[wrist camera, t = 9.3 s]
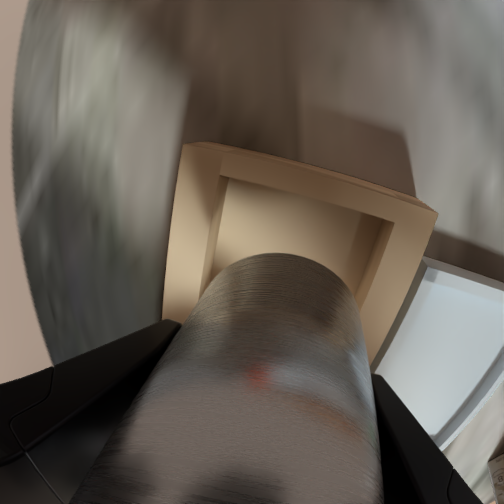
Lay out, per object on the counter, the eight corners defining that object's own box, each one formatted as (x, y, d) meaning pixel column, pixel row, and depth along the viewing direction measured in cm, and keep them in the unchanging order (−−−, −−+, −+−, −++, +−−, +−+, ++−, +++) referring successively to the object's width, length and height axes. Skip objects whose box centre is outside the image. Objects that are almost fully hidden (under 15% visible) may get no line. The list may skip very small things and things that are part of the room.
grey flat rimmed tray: (434, 441, 17) (437, 455, 16) (326, 429, 18) (325, 446, 17) (536, 294, 12) (548, 306, 11) (418, 254, 13) (427, 266, 12)
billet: (385, 279, 8) (463, 563, 1) (327, 399, 10) (309, 604, 3) (212, 231, 8) (8, 465, 2) (192, 363, 10) (94, 550, 3)
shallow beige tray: (302, 442, 19) (298, 472, 16) (172, 406, 20) (158, 434, 17) (416, 198, 12) (438, 213, 10) (206, 141, 13) (183, 143, 10)
